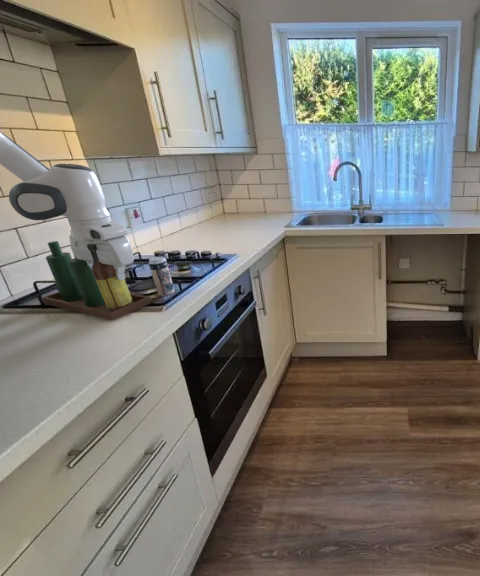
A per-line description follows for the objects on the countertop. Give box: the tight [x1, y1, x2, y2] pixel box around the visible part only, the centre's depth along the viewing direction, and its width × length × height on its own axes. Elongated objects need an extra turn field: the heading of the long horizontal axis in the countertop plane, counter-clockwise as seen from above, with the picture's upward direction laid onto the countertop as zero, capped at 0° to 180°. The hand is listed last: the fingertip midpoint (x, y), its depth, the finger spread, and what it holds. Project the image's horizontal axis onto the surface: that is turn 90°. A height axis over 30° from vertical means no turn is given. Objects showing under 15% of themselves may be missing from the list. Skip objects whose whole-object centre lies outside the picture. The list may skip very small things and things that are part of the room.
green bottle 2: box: [69, 246, 105, 307], centre depth 105 cm, size 6×6×18 cm
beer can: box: [148, 255, 176, 297], centre depth 113 cm, size 5×5×12 cm
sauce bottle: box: [87, 244, 133, 312], centre depth 101 cm, size 7×6×20 cm
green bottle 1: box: [45, 240, 83, 302], centre depth 109 cm, size 6×6×18 cm
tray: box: [41, 291, 152, 321], centre depth 108 cm, size 32×12×3 cm, turn 68°
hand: (109, 277), depth 101 cm, fingers open, 8 cm apart
